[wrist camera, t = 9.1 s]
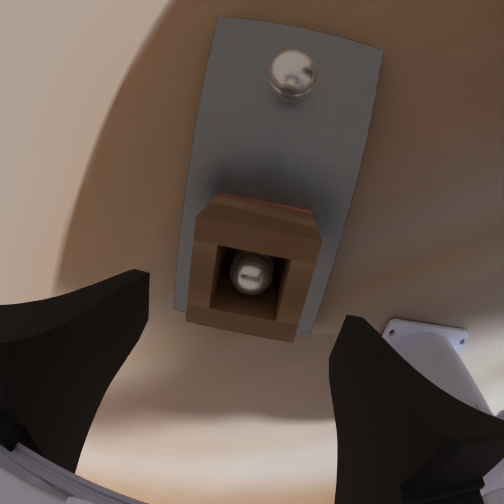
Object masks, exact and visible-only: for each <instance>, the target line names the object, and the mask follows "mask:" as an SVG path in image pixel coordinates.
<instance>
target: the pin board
mask: <svg viewBox="0 0 504 504" xmlns="http://www.w3.org/2000/svg"><path fill="white" fill-rule="evenodd" d="M382 55H383V50H380V49H377V48H374V47H371V46H368V45H365V44H362V43H359V42H355V41H352V40H349V39H345V38H341V37H338V36H334V35H330V34H326V33H322V32H318V31H313V30H309V29H304V28H299V27H294V26H289V25H283V24H277V23H271V22H264V21H257V20H249V19H240V18H230V17H219V18H218V22H217V26H216V30H215V34H214V38H213V42H212V47H211V51H210V56H209V60H208V65H207V69H206V74H205V79H204V84H203V89H202V94H201V99H200V104H199V110H198V115H197V121H196V126H195V132H194V138H193V144H192V150H191V157H190V163H189V170H188V177H187V184H186V191H185V199H184V206H183V214H182V223H181V232H180V241H179V250H178V260H177V271H176V283H175V295H174V309H175V310H179V311H183V312H187V299H188V288H189V277H190V267H191V257H192V248H193V239H194V230H195V221H196V216H197V215H198V214H199V213H200V212H201V211H202V210H203V209H204V208H205V207H206V206H207V205H208V204H209V203H210V202H211V201H212V200H213V199H214V198H215V197H216V196H217V195H218V194H219V193H224V194H230V195H235V196H241V197H246V198H251V199H257V200H262V201H267V202H272V203H277V204H282V205H287V206H292V207H297V208H301V209H306V210H311V212H312V215H313V217H314V220H315V223H316V225H317V228H318V231H319V234H320V236H321V239H322V244H321V248H320V252H319V255H318V259H317V263H316V266H315V270H314V273H313V277H312V280H311V284H310V287H309V291H308V294H307V298H306V301H305V304H304V308H303V311H302V314H301V318H300V321H299V324H298V327H297V331H296V334H295V335H297V336H302V337H308V338H309V335H310V333H311V330H312V327H313V324H314V321H315V318H316V316H317V313H318V310H319V307H320V304H321V301H322V298H323V295H324V292H325V289H326V286H327V283H328V280H329V276H330V273H331V270H332V267H333V264H334V261H335V257H336V254H337V251H338V247H339V244H340V241H341V237H342V234H343V230H344V227H345V223H346V220H347V216H348V212H349V209H350V205H351V201H352V198H353V194H354V190H355V186H356V182H357V178H358V174H359V170H360V166H361V162H362V157H363V153H364V149H365V144H366V140H367V135H368V131H369V126H370V121H371V116H372V111H373V106H374V101H375V96H376V91H377V85H378V79H379V74H380V68H381V62H382ZM280 262H281V257H276V256H271V255H266V254H260V253H255V252H250V251H245V250H240V249H235V248H230V249H229V255H228V261H227V263H230V264H231V267H230V279H231V282H232V284H233V286H234V287H235V288H236V289H237V290H238V291H240V292H241V293H243V294H247V295H256V294H259V293H262V292H263V291H265V290H266V289H267V288H268V287H269V286H270V284H271V282H272V279H273V274H274V272H275V273H278V271H279V267H280Z"/></svg>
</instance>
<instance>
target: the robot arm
mask: <svg viewBox="0 0 504 504" xmlns="http://www.w3.org/2000/svg"><path fill="white" fill-rule="evenodd" d="M149 278H150V273H148V272H144V271H140V270H136V269H134V270H130V271H127V272H124V273H121V274H119V275H116V276H114V277H111V278H109V279H106V280H103V281H101V282H98V283H96V284H93V285H91V286H88V287H85V288H82V289H79V290H76V291H73V292H70V293H67V294H64V295H60V296H57V297H52V298H48V299H44V300H39V301H33V302H27V303H20V304H11V305H0V504H148V503H145V502H142V501H139V500H136V499H133V498H130V497H127V496H125V495H122V494H119V493H117V492H114V491H112V490H109V489H107V488H104V487H102V486H100V485H97V484H95V483H93V482H91V481H88V480H86V479H84V478H82V477H80V476H78V475H76V474H75V471H76V468H77V464H78V461H79V458H80V454H81V451H82V448H83V445H84V442H85V440H86V437H87V434H88V431H89V429H90V426H91V424H92V421H93V419H94V416H95V414H96V412H97V409H98V407H99V405H100V403H101V401H102V399H103V396H104V394H105V392H106V390H107V388H108V387H109V385H110V383H111V381H112V380H113V378H114V377H115V375H116V374H117V372H118V371H119V369H120V367H121V366H122V364H123V363H124V361H125V360H126V358H127V357H128V355H129V354H130V352H131V351H132V349H133V348H134V346H135V345H136V343H137V342H138V340H139V338H140V336H141V334H142V332H143V330H144V328H145V325H146V323H147V321H148V314H149ZM391 330H394V331H393V332H392V333H389V332H390V331H391ZM469 336H470V333H469V331H468V330H467V329H461V328H454V327H446V326H439V325H433V324H426V323H419V322H413V321H407V320H400V319H392V320H390V321H389V322H388V324H387V326H386V328H385V330H384V332H383V334H382V336H381V335H380V334H379V333H378V332H377V331H376V330H375V329H374V328H373V327H372V326H371V325H370V324H369V323H368V322H367V321H366V320H365V319H363V318H362V317H357V316H351V315H347V316H346V318H345V321H344V323H343V326H342V328H341V331H340V333H339V335H338V338H337V340H336V343H335V345H334V347H333V350H332V352H331V354H330V357H329V381H330V388H331V395H332V402H333V408H334V415H335V422H336V429H337V441H338V458H337V482H336V493H335V503H334V504H504V410H502V411H500V412H499V413H498V414H497V415H496V417H495V416H494V415H493V414H492V412H491V410H490V408H489V406H488V405H487V403H486V401H485V399H484V397H483V395H482V394H481V392H480V390H479V388H478V387H477V385H476V383H475V381H474V380H473V378H472V376H471V375H470V373H469V371H468V370H467V368H466V366H465V365H464V363H463V361H462V360H461V358H460V357H459V353H460V352H461V350H462V348H463V347H464V345H465V343H466V341H467V340H468V338H469ZM461 340H462V341H461Z"/></svg>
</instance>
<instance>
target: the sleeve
mask: <svg viewBox="0 0 504 504" xmlns="http://www.w3.org/2000/svg"><path fill="white" fill-rule="evenodd" d="M321 244H322V239H321V236H320V234H319V231H318V228H317V225H316V223H315V220H314V217H313V215H312V212H311V210H306V209H301V208H297V207H292V206H287V205H282V204H277V203H272V202H267V201H262V200H257V199H251V198H246V197H241V196H235V195H230V194H224V193H219V194H218V195H217V196H216V197H215V198H214V199H213V200H212V201H211V202H210V203H209V204H208V205H207V206H206V207H205V208H204V209H203V210H202V211H201V212H200V213H199V214H198V215H197V216H196V221H195V230H194V239H193V248H192V257H191V267H190V277H189V288H188V299H187V312H186V321H188V322H192V323H196V324H201V325H205V326H210V327H214V328H219V329H223V330H228V331H233V332H238V333H243V334H248V335H253V336H259V337H264V338H269V339H275V340H281V341H286V342H292V343H293V340H294V337H295V334H296V331H297V327H298V324H299V321H300V318H301V314H302V311H303V308H304V304H305V301H306V298H307V294H308V291H309V287H310V284H311V280H312V277H313V273H314V270H315V266H316V263H317V259H318V255H319V252H320V248H321ZM230 248H235V249H240V250H245V251H250V252H255V253H260V254H266V255H271V256H276V257H281V262H280V267H279V271H278V273H275V272H274V274H273V279H272V282H271V284H270V286H269V287H268V288H267V289H266V290H265V291H263V292H262V293H259V294H256V295H247V294H243V293H241V292H240V291H238V290H237V289H236V288H235V287H234V286H233V284H232V282H231V279H230V267H231V264H230V263H227V261H228V255H229V249H230Z"/></svg>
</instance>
